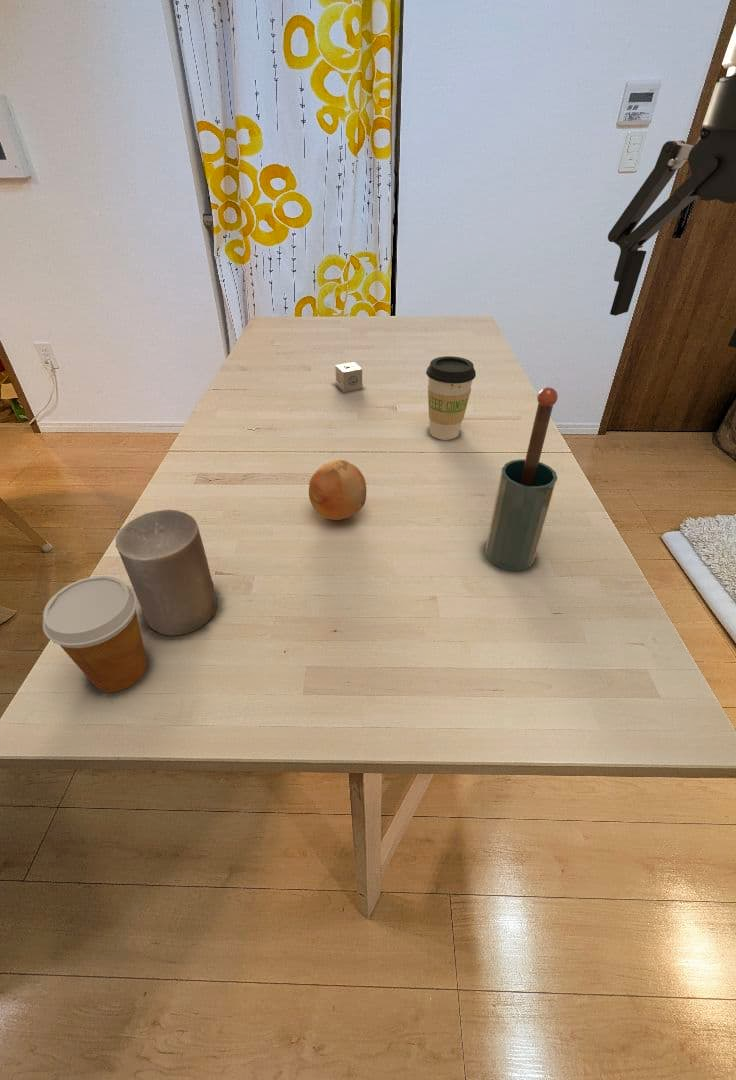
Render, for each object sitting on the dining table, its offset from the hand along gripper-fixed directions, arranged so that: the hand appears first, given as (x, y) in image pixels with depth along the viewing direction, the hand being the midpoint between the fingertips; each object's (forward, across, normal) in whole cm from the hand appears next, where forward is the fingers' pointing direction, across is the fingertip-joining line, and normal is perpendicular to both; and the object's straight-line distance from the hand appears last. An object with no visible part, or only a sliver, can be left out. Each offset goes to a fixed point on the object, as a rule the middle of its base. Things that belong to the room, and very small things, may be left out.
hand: (673, 327), depth 58 cm
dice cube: (+35, +75, -9) cm, 83 cm away
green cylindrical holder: (+35, +8, +9) cm, 37 cm away
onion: (+35, +33, +24) cm, 54 cm away
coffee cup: (+35, +43, -11) cm, 56 cm away
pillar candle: (+35, +28, +54) cm, 70 cm away
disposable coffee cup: (+35, +23, +64) cm, 76 cm away
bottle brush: (+34, +8, +9) cm, 36 cm away
